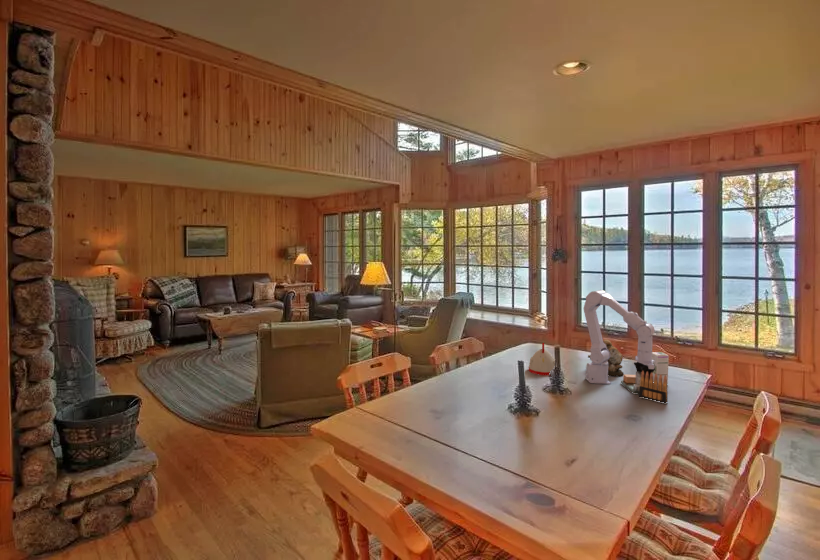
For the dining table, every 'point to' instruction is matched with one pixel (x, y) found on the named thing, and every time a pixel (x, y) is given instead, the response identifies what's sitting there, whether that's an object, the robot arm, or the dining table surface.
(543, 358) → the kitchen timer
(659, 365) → the syrup box
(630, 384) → the vise
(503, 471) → the dining table surface
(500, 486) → the dining table surface
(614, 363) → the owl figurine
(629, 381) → the block
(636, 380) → the steel block
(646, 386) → the ammunition clip
